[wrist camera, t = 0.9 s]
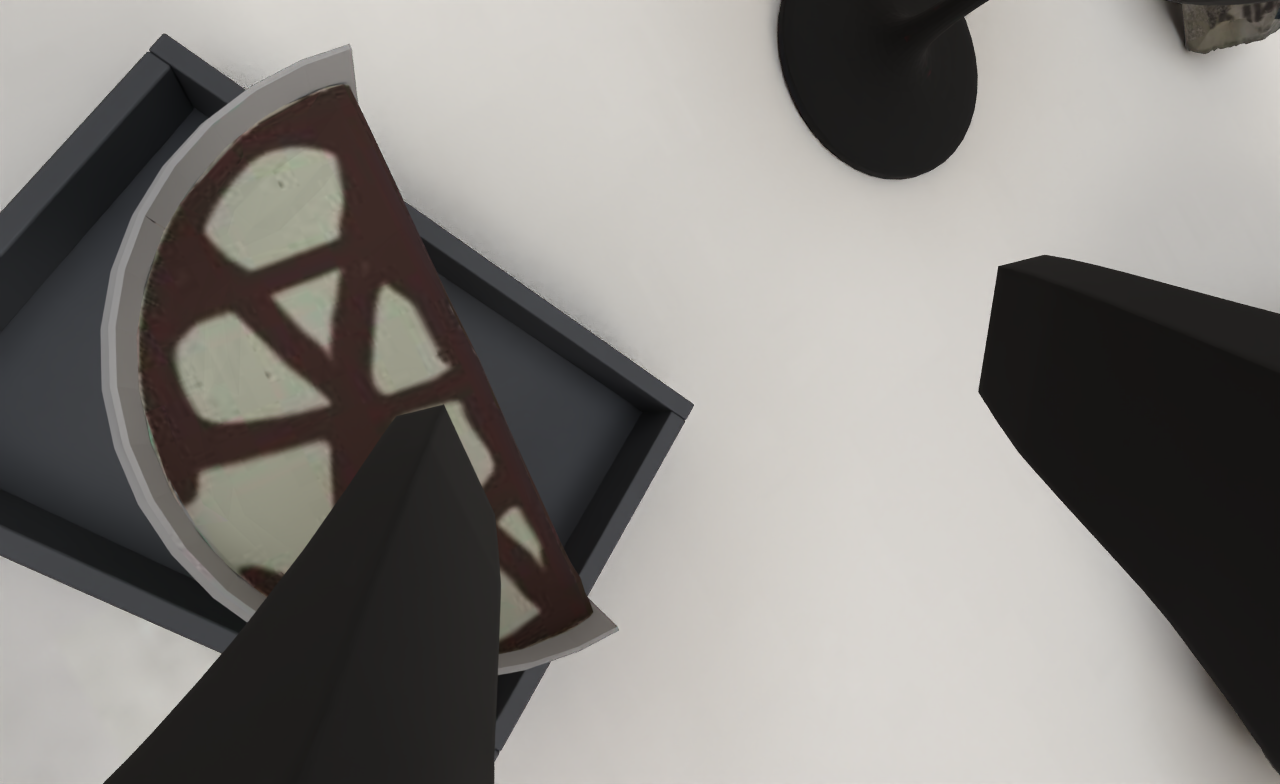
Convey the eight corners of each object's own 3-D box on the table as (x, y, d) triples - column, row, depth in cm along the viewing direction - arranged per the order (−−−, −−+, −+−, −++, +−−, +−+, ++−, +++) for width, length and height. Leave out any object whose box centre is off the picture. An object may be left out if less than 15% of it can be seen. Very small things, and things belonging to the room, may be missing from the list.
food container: (124, 266, 18) (-127, 110, 9) (350, 196, 20) (335, 12, 11) (330, 660, 20) (296, 872, 11) (519, 555, 22) (630, 654, 13)
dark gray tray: (475, 731, 21) (489, 772, 19) (-136, 451, 16) (-227, 457, 14) (661, 406, 24) (695, 404, 22) (189, 82, 19) (163, 31, 17)
